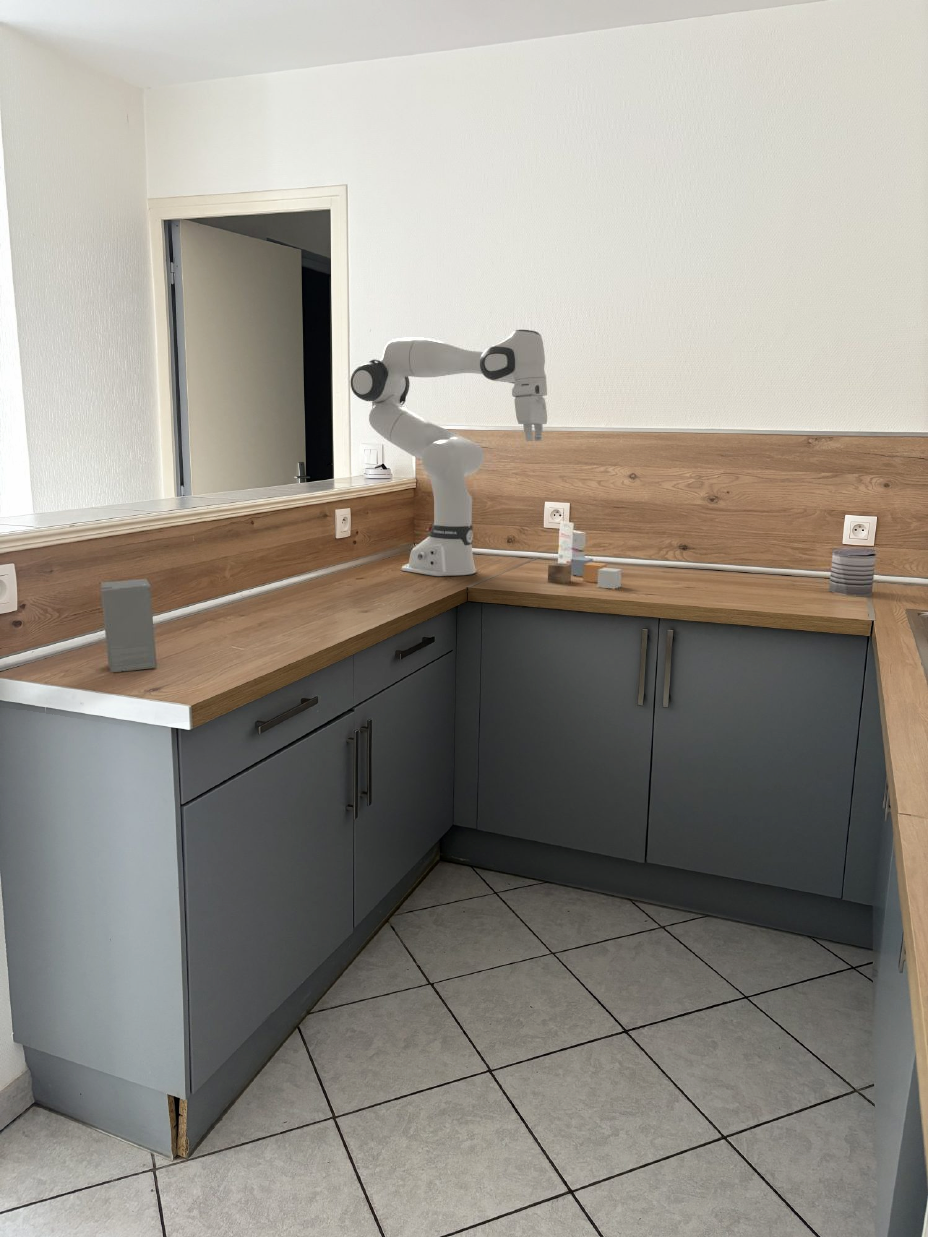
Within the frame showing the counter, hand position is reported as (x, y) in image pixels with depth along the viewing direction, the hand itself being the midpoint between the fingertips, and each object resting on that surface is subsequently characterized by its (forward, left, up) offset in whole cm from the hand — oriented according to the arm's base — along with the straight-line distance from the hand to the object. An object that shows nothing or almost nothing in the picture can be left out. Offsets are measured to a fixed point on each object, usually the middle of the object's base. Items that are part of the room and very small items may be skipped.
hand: (534, 441), depth 260 cm
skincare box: (-21, -126, -40) cm, 133 cm away
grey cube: (+23, +3, -39) cm, 46 cm away
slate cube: (+9, +17, -39) cm, 44 cm away
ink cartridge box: (+2, +26, -40) cm, 47 cm away
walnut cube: (+8, +3, -39) cm, 40 cm away
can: (+82, +34, -40) cm, 97 cm away
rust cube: (+16, +10, -39) cm, 44 cm away
